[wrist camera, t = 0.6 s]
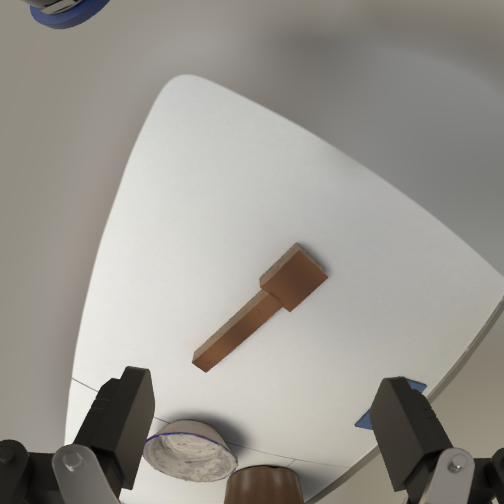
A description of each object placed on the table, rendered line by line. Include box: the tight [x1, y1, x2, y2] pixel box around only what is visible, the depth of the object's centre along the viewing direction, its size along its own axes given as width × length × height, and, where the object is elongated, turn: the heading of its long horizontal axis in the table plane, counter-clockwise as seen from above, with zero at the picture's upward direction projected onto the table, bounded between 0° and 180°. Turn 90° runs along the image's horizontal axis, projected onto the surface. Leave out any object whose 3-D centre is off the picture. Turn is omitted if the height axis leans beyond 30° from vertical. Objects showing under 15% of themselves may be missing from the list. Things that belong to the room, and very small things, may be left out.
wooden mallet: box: [192, 243, 328, 372], centre depth 31 cm, size 16×4×2 cm, turn 137°
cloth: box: [355, 376, 427, 430], centre depth 38 cm, size 10×6×1 cm, turn 154°
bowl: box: [142, 420, 238, 482], centre depth 37 cm, size 13×13×5 cm
